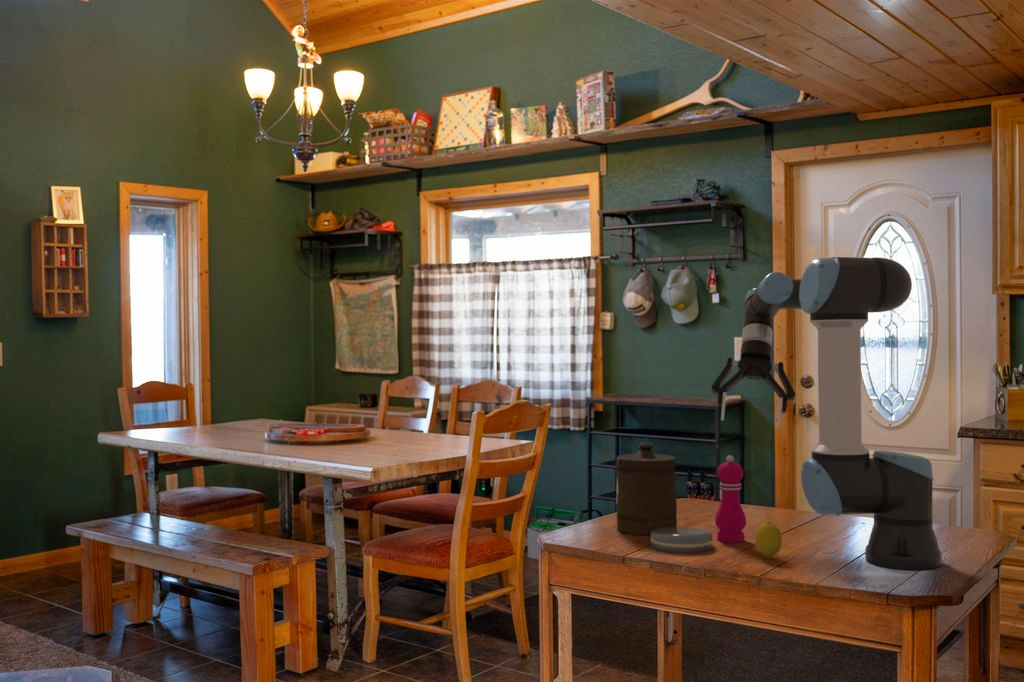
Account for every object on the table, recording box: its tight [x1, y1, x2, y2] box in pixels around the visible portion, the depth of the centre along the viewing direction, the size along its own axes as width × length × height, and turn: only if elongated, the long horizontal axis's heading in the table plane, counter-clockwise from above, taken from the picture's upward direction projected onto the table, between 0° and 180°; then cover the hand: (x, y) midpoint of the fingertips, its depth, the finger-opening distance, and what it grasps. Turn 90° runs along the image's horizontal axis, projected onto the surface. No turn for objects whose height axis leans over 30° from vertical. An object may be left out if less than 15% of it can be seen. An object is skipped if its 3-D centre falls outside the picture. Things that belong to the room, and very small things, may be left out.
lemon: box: [755, 521, 783, 559], centre depth 213 cm, size 6×6×8 cm
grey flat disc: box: [650, 526, 713, 554], centre depth 226 cm, size 14×14×3 cm
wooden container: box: [616, 440, 678, 536], centre depth 245 cm, size 15×15×22 cm
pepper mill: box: [714, 455, 747, 544], centre depth 232 cm, size 7×7×20 cm
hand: (750, 421), depth 241 cm, fingers open, 13 cm apart
